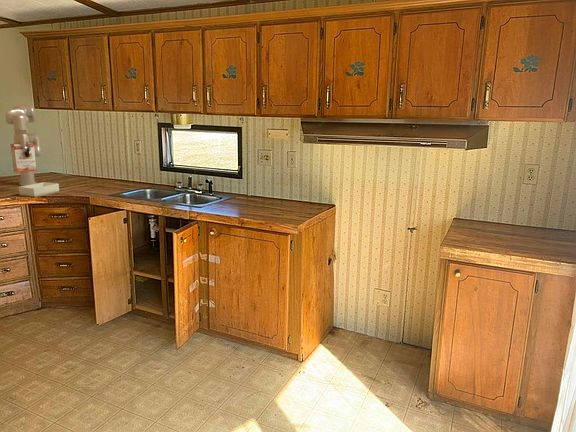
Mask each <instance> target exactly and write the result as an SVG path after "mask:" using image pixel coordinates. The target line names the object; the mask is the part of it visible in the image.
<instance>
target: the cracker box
mask: <svg viewBox="0 0 576 432" xmlns="http://www.w3.org/2000/svg"><path fill="white" fill-rule="evenodd" d="M29 145H30V146H31V149H30V151H29V154H30V157H25V152H26V151H25V149H24V148H21V144H14V143H10V152H11V160H12V161H11V162H12V168H13V169H12V170H13V172H14V173H17V174H18V173H19V174H20V172H30V171H34V172H37V164H36V163H37V161H36V157H35V151H34V144H33V143H29ZM26 147H27V146H26ZM26 149H27V148H26Z"/></svg>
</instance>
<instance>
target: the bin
mask: <svg viewBox="0 0 576 432" xmlns="http://www.w3.org/2000/svg"><path fill="white" fill-rule="evenodd" d="M59 192H60V184H59V183H56V182H55V183H54V182H45V181H44V182H37V184H32V185H26V186H22V185H20V186H18V194H19V196H22V197H23V196H24V197H32V198H36V197H40V196H45V195H50V194H54V193H59Z"/></svg>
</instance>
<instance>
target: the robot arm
mask: <svg viewBox="0 0 576 432" xmlns="http://www.w3.org/2000/svg"><path fill="white" fill-rule="evenodd" d="M36 115H37V114H36V110H35V107H34V106H33V105H31V104H17V105H14V106H13V109H11V110H8V111H6V113H5V121H6V124H8V125H13V131H14V134H13V144H21V148H24V149H25V151H26V152H25V157H30V154H29V151H30V149H31V146H30V145H29V143H33V144H34V151H35V158H40V157H41V156H42V144H41V138H40V136H39V134H37V133H29V128H28V127H27V126H26V125H27V124H28V123H32V124H34V123H35V122H37V116H36ZM26 146H27V147H26ZM26 148H27V149H26ZM19 175H20V179H18V182H19V184H18V185H19V186H26V185H32V184H37V183H38V182H37V181H35V180H36V179H35V171H30V172H20V173H19Z"/></svg>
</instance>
